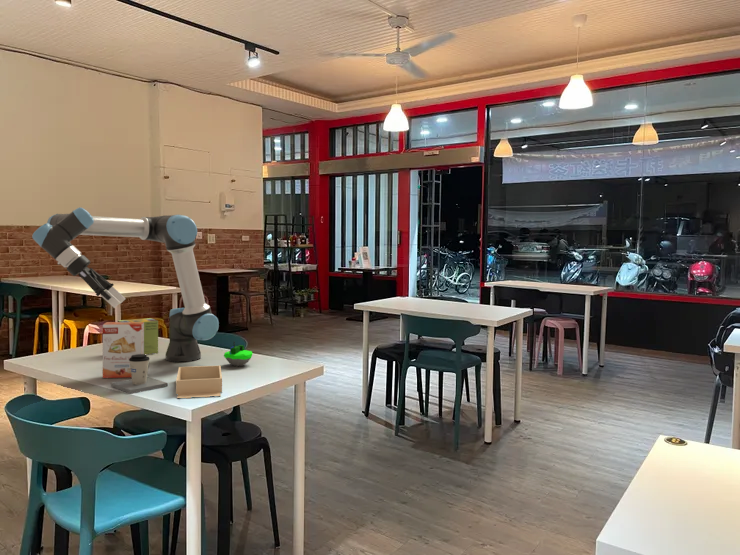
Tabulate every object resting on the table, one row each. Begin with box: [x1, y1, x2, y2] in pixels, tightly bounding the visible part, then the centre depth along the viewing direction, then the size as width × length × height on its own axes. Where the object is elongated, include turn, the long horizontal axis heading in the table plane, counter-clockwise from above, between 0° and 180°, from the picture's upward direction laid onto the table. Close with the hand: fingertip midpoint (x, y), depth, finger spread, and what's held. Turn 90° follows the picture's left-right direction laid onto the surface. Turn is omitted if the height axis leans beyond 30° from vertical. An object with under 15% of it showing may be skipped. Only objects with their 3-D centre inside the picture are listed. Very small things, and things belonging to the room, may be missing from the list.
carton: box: [175, 365, 223, 399], centre depth 201 cm, size 15×31×5 cm, turn 17°
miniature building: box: [223, 341, 254, 367], centre depth 237 cm, size 12×12×11 cm
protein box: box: [117, 317, 159, 355], centre depth 257 cm, size 10×15×16 cm
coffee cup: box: [129, 354, 150, 384], centre depth 199 cm, size 7×7×10 cm
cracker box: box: [102, 321, 144, 379], centre depth 213 cm, size 14×6×21 cm, turn 103°
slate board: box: [110, 375, 169, 394], centre depth 199 cm, size 14×14×1 cm
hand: (120, 303), depth 200 cm, fingers open, 13 cm apart
